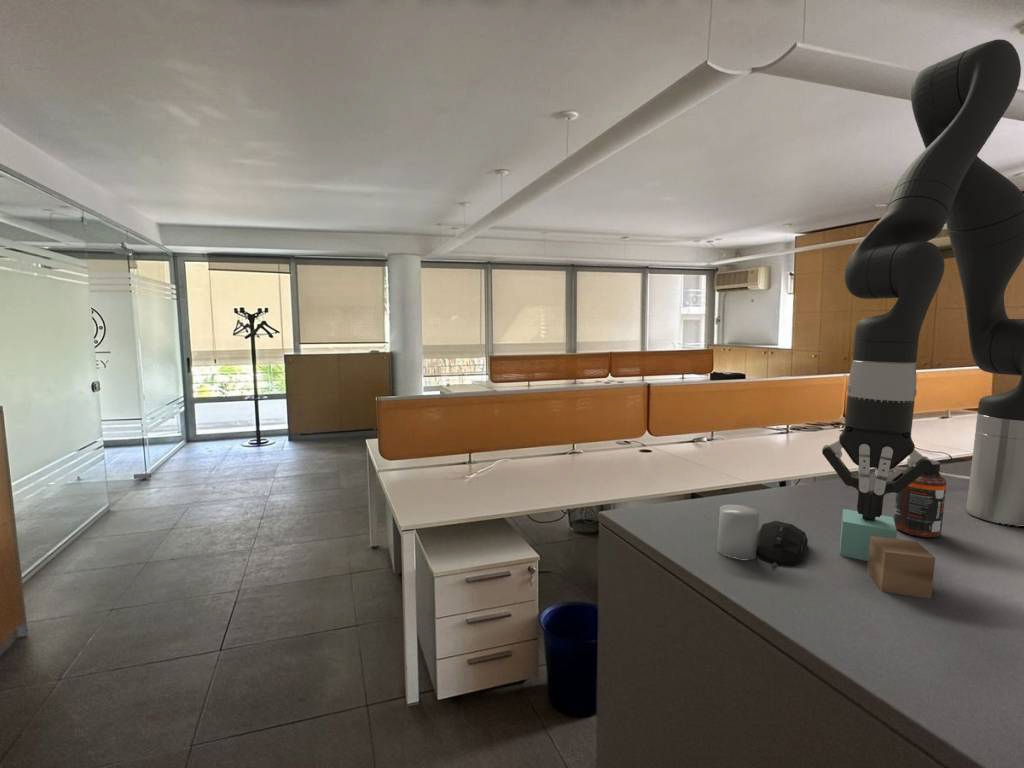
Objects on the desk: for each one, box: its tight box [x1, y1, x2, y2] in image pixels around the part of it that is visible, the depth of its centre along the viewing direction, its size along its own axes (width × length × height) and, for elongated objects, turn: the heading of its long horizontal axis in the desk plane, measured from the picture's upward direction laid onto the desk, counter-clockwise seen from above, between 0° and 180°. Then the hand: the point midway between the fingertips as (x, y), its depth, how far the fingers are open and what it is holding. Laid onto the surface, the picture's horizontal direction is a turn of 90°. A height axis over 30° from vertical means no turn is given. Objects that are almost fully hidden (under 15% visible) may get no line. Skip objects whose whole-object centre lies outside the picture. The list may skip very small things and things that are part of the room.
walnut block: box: [866, 536, 936, 599], centre depth 64 cm, size 5×5×5 cm
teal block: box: [839, 508, 898, 562], centre depth 74 cm, size 6×6×5 cm
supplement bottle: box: [893, 458, 947, 539], centre depth 81 cm, size 6×6×11 cm
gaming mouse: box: [756, 520, 809, 572], centre depth 73 cm, size 6×15×4 cm, turn 147°
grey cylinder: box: [716, 504, 760, 560], centre depth 73 cm, size 5×5×6 cm
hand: (868, 518), depth 73 cm, fingers closed
